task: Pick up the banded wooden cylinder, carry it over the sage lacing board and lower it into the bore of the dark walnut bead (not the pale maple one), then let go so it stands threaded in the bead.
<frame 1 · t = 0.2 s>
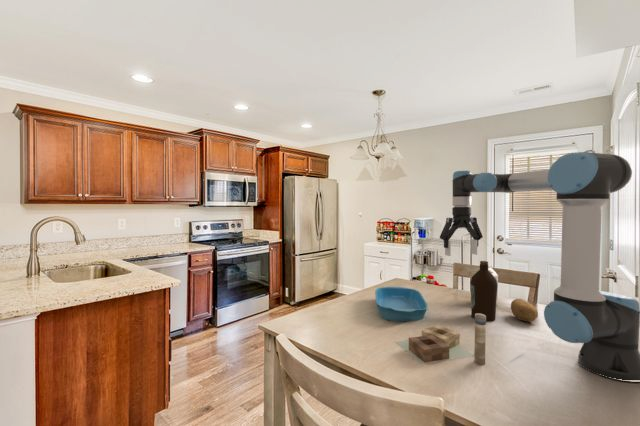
hand: (461, 254, 138), 28 cm above the table, tool pointing down, fingers open, 13 cm apart
potato: (524, 320, 135), on the table
maple bead: (440, 342, 110), resting on lacing board
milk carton: (486, 304, 157), on the table
olive oil: (483, 318, 138), on the table
casserole dish: (399, 311, 147), on the table
lacing board: (433, 351, 106), on the table
banded wooden cylinder: (479, 366, 97), on the table
walnut bead: (428, 354, 102), resting on lacing board
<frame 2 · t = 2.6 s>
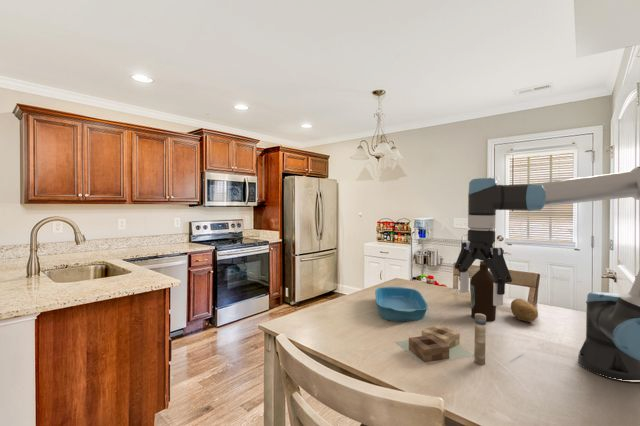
hand: (479, 298, 96), 21 cm above the table, tool pointing down, fingers open, 13 cm apart
nothing on the table moved.
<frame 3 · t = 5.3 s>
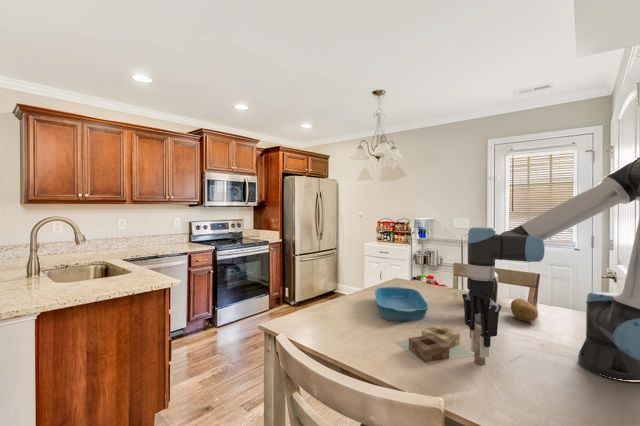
hand: (479, 353, 97), 4 cm above the table, tool pointing down, fingers closed on banded wooden cylinder, 3 cm apart
banded wooden cylinder: (479, 366, 97), on the table, touching gripper
everything else where it was.
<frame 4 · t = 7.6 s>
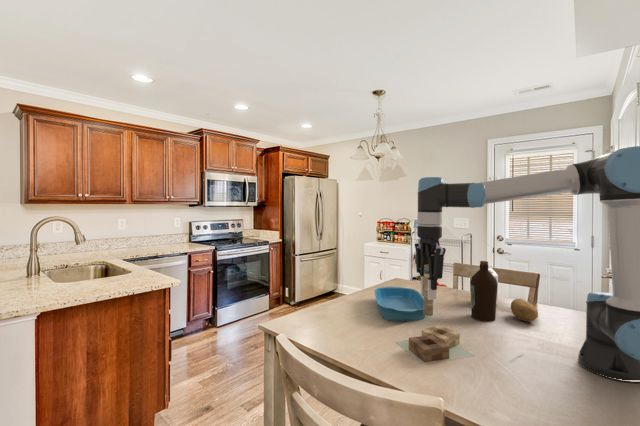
hand: (428, 297, 102), 20 cm above the table, tool pointing down, fingers closed on banded wooden cylinder, 3 cm apart
banded wooden cylinder: (428, 314, 102), point 14 cm above the table, touching gripper
everything else where it was.
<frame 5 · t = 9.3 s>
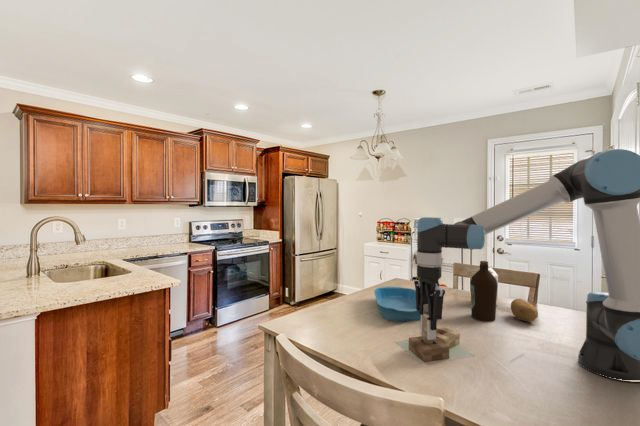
hand: (427, 336, 102), 7 cm above the table, tool pointing down, fingers closed on banded wooden cylinder, 3 cm apart
banded wooden cylinder: (427, 354, 102), point 1 cm above the table, touching gripper, lacing board
everything else where it was.
when the fingers open (7 cm above the table, at t = 9.9 s): banded wooden cylinder stays where it is, resting on lacing board.
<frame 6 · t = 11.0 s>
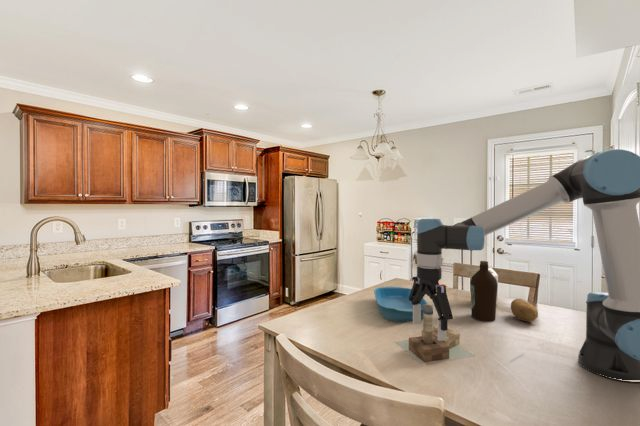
hand: (428, 331, 102), 9 cm above the table, tool pointing down, fingers open, 13 cm apart
banded wooden cylinder: (427, 354, 102), point 1 cm above the table, touching lacing board
everything else where it was.
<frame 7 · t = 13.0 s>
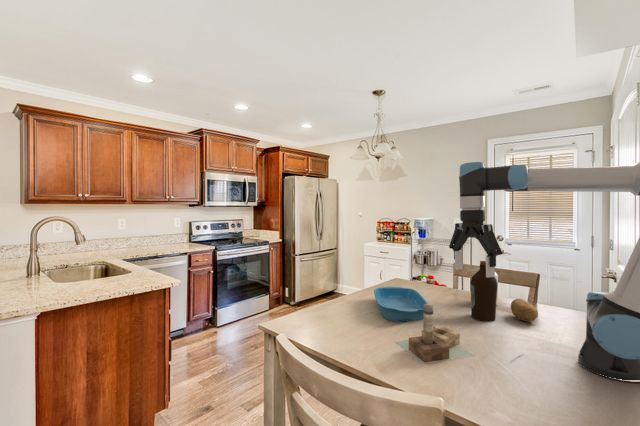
hand: (473, 273, 104), 27 cm above the table, tool pointing down, fingers open, 13 cm apart
nothing on the table moved.
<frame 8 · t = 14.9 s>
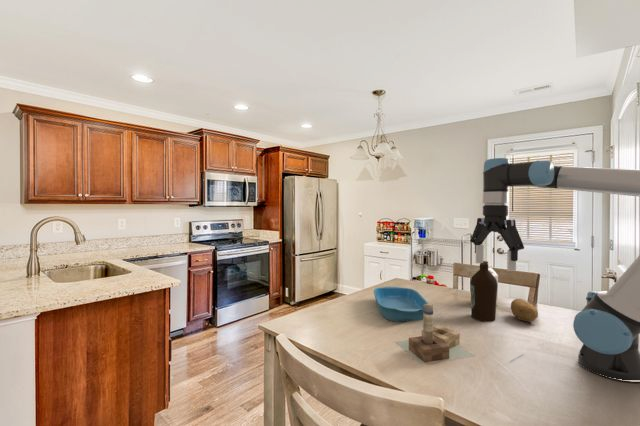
hand: (494, 266, 107), 29 cm above the table, tool pointing down, fingers open, 13 cm apart
nothing on the table moved.
at the end: banded wooden cylinder 0.1 cm off-centre on the walnut bead, point 0.0 cm above the walnut bead's base; banded wooden cylinder tilted 0°; the gripper is holding nothing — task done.
